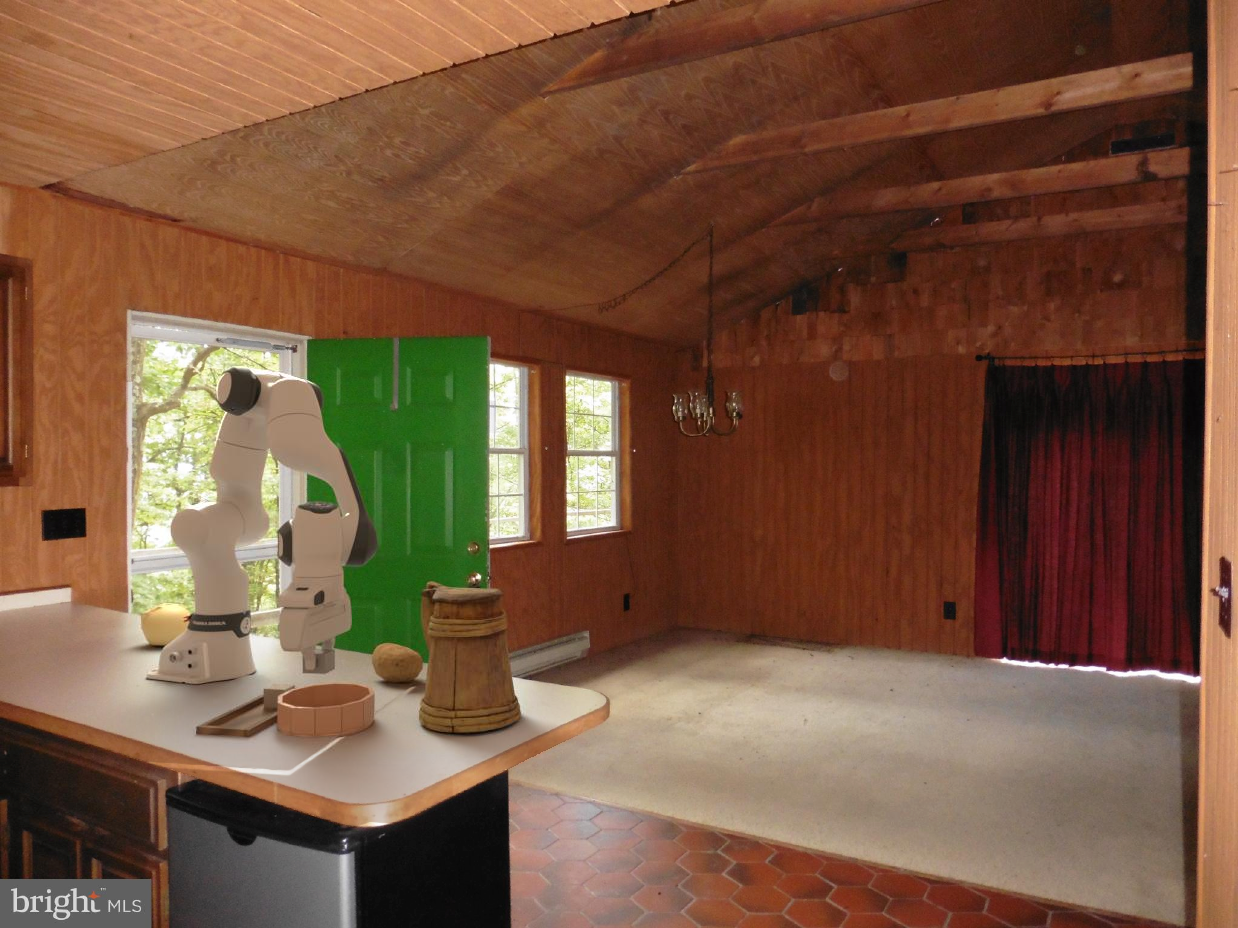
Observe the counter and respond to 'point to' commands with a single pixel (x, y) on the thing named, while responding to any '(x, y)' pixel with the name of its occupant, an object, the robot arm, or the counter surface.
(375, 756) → the counter surface
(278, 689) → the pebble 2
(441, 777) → the counter surface
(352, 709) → the bowl
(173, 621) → the yellow apple
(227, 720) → the parts tray
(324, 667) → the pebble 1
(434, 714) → the tankard
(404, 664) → the potato
